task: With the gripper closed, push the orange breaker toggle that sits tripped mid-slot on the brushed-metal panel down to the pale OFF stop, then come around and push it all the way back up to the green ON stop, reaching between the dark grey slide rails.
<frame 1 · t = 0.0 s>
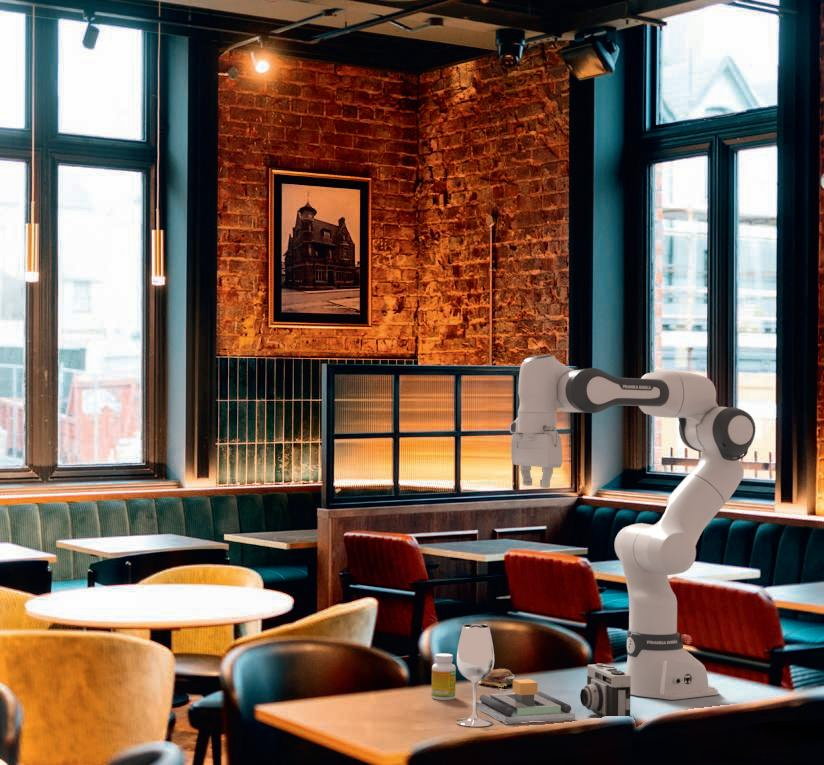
hand: (536, 486, 300), 48 cm above the table, fingers open, 8 cm apart
wineglass: (474, 724, 273), on the table
dark grey slide rails: (524, 703, 283), in the panel, point 2 cm above the table
supplement bottle: (443, 699, 298), on the table
panel: (524, 714, 283), on the table
hamburger: (499, 688, 313), on the table
toggle: (524, 693, 283), point 4 cm above the table, slide at 4.5 cm
camera: (600, 715, 284), on the table
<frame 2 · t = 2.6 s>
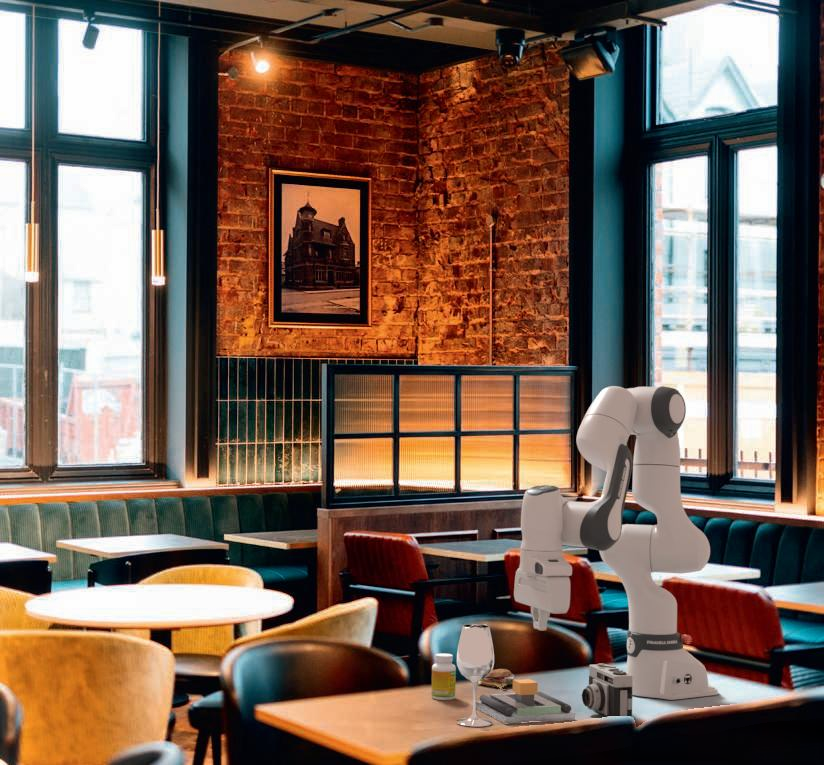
hand: (540, 629, 277), 19 cm above the table, fingers closed
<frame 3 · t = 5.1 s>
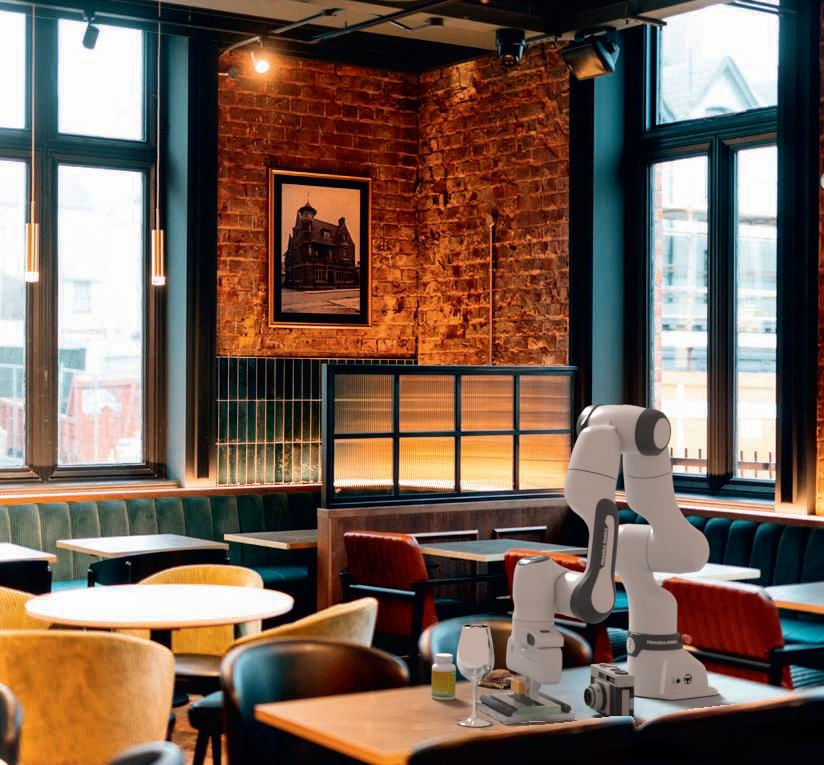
hand: (531, 698, 280), 4 cm above the table, fingers closed
toggle: (523, 692, 284), point 4 cm above the table, slide at 3.6 cm, touching gripper
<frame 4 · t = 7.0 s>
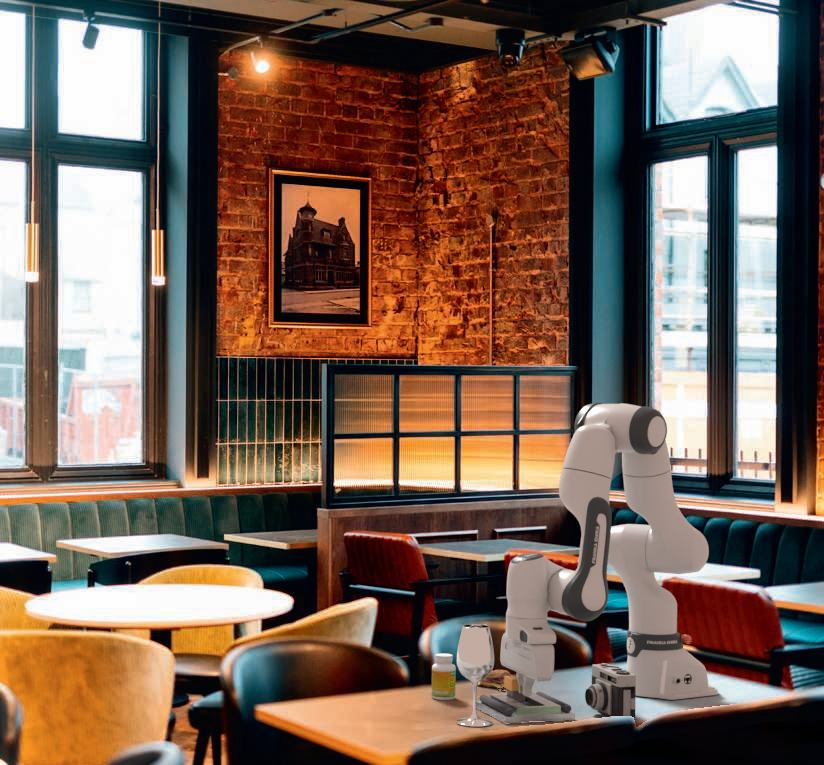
hand: (525, 694, 283), 4 cm above the table, fingers closed
toggle: (516, 689, 287), point 4 cm above the table, slide at 0.0 cm
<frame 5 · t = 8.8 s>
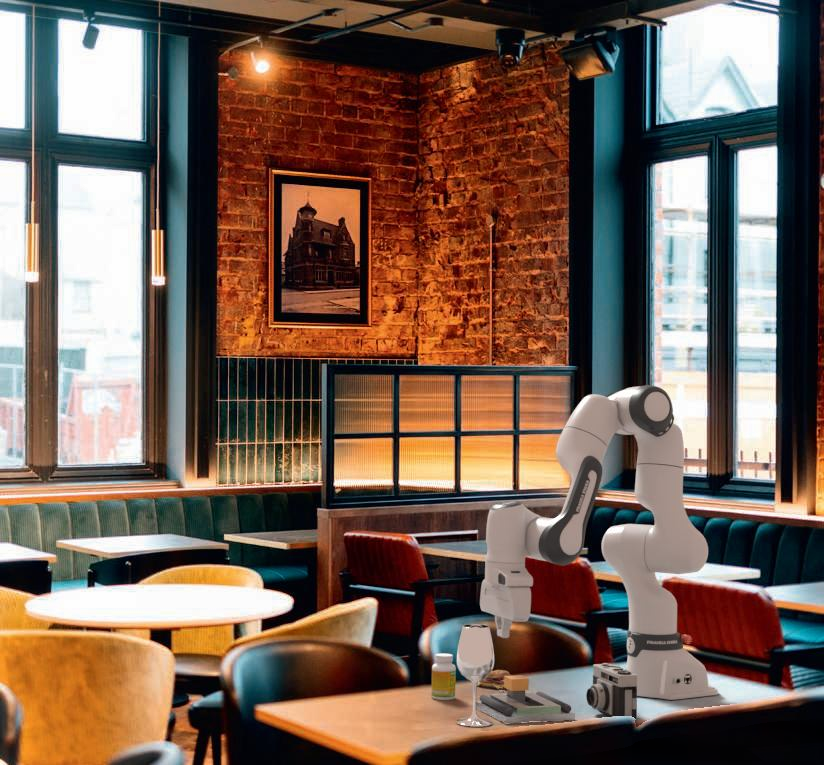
hand: (503, 637, 294), 15 cm above the table, fingers closed
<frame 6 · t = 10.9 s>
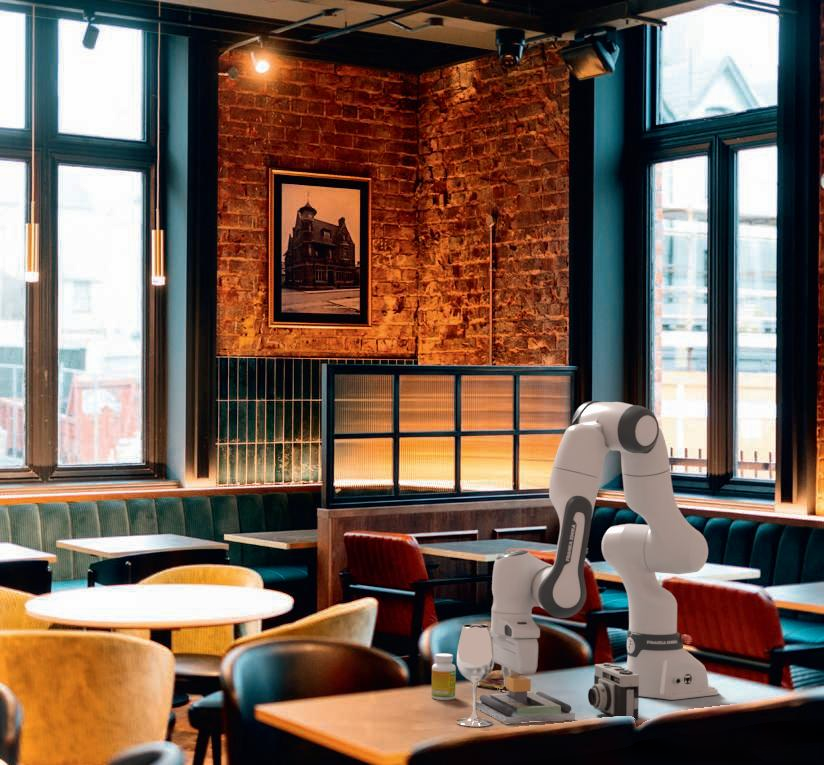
hand: (510, 687, 290), 4 cm above the table, fingers closed
toggle: (518, 690, 286), point 4 cm above the table, slide at 0.9 cm, touching gripper
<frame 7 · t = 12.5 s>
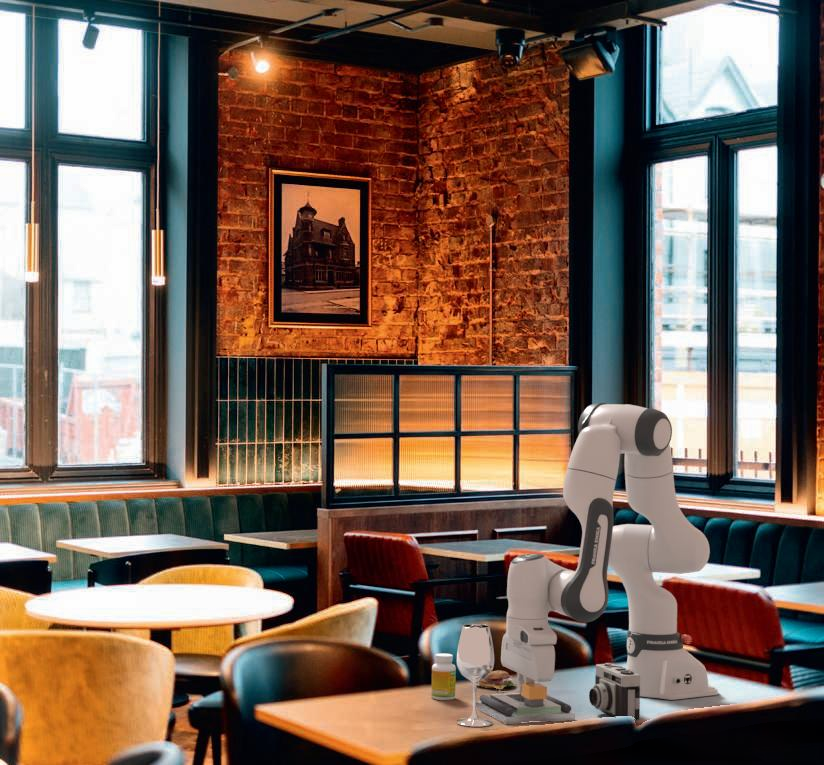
hand: (525, 695, 282), 4 cm above the table, fingers closed
toggle: (533, 697, 279), point 4 cm above the table, slide at 9.1 cm, touching gripper
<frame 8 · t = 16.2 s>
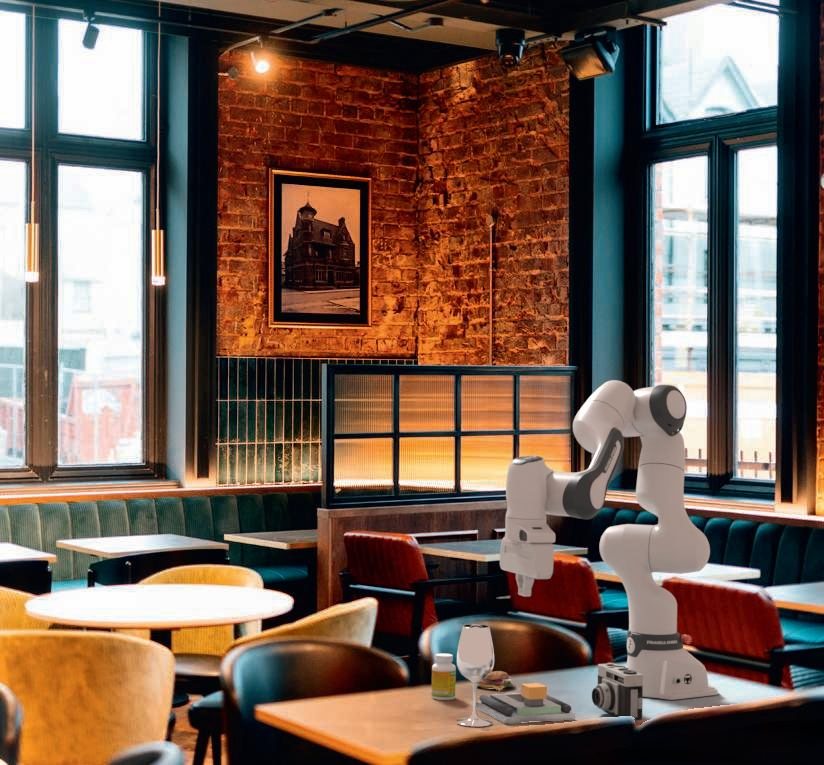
hand: (524, 595, 285), 25 cm above the table, fingers closed
toggle: (533, 697, 279), point 4 cm above the table, slide at 9.0 cm
at the end: toggle slide at 9.0 cm; toggle 0.0 cm from the target spot, resting on panel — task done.
